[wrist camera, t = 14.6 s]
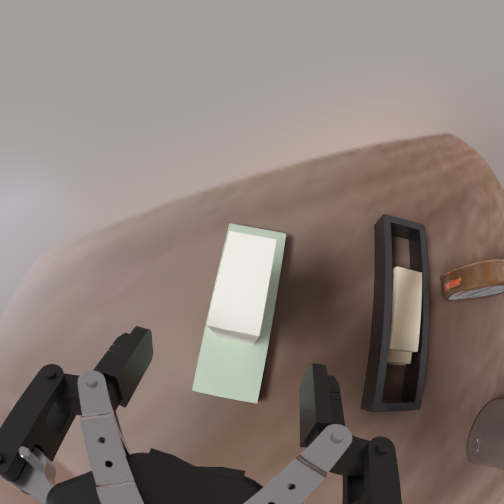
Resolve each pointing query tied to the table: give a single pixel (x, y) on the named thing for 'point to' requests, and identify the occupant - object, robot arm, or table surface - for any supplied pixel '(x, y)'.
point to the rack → (383, 317)
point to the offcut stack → (405, 315)
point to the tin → (474, 280)
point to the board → (236, 353)
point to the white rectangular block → (242, 288)
